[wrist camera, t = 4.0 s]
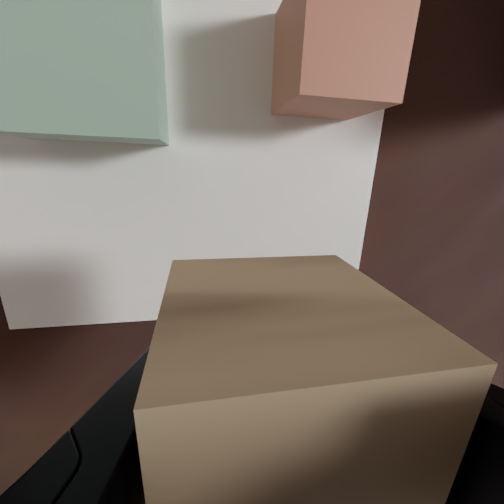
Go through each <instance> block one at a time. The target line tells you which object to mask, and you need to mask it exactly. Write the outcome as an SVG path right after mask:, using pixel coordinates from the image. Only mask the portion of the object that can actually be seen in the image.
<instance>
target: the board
mask: <svg viewBox="0 0 504 504" xmlns="http://www.w3.org/2000/svg"><path fill="white" fill-rule="evenodd" d="M281 2H282V0H161V3H162V22H163V40H164V58H165V77H166V95H167V114H168V132H169V145H151V144H130V143H109V142H88V141H67V140H46V139H31V138H25V137H18V136H12V135H5V134H0V296H1V300H2V304H3V307H4V311H5V315H6V318H7V322H8V326H9V329H25V328H40V327H56V326H71V325H87V324H102V323H117V322H133V321H148V320H157V318H158V314H159V310H160V307H161V303H162V299H163V295H164V291H165V288H166V284H167V280H168V276H169V272H170V268H171V265H172V261H173V260H190V259H223V258H255V257H287V256H320V255H336V256H338V257H339V258H341V259H342V260H344V261H345V262H347V263H348V264H350V265H351V266H353V267H354V268H356V269H357V270H359V264H360V258H361V252H362V245H363V239H364V233H365V227H366V221H367V215H368V209H369V203H370V196H371V190H372V184H373V178H374V172H375V166H376V160H377V154H378V147H379V141H380V135H381V129H382V123H383V117H384V111H385V109H382V110H379V111H376V112H372V113H369V114H366V115H363V116H359V117H356V118H353V119H349V120H339V119H325V118H311V117H297V116H283V115H271V102H272V82H273V61H274V41H275V21H276V12H277V10H278V8H279V6H280V4H281Z"/></svg>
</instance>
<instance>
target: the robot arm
mask: <svg viewBox="0 0 504 504" xmlns="http://www.w3.org/2000/svg"><path fill="white" fill-rule="evenodd" d="M149 349H150V347H149V348H148V349H147V350H146V351H145V352H144V353H143V354H142V355H141V356H140V357H139V358H138V359H137V360H136V361H135V362H134V363H133V364H132V366H131V367H130V368H129V369H128V370H127V371H126V372H125V373H124V374H123V375H122V376H121V377H120V378H119V379H118V380H117V381H116V382H115V383H114V384H113V385H112V386H111V387H110V388H109V389H108V390H107V391H106V392H105V393H104V394H103V395H102V396H101V397H100V398H99V399H98V400H97V401H96V402H95V403H94V404H93V405H92V406H91V407H90V408H89V409H88V410H87V411H86V413H85V414H84V415H83V416H82V417H81V418H80V419H79V420H78V421H77V422H76V423H75V424H74V425H73V426H72V427H71V428H70V431H67V432H66V433H65V434H64V435H63V436H62V437H61V438H60V439H59V440H58V441H57V442H56V443H55V444H54V445H53V446H52V447H51V448H50V449H49V450H48V451H47V452H46V453H45V454H44V455H43V456H42V457H41V458H40V459H39V460H38V461H37V462H36V463H35V464H34V465H33V466H32V467H31V468H30V469H29V470H28V471H27V472H26V473H24V474H23V475H22V476H21V477H20V478H19V479H18V480H17V481H16V482H15V483H14V484H12V485H11V486H10V487H9V488H8V489H7V490H6V491H5V492H4V493H3V494H2V495H0V504H146V503H145V495H144V487H143V480H142V472H141V465H140V457H139V450H138V442H137V434H136V427H135V419H134V412H133V410H134V406H135V402H136V398H137V394H138V391H139V387H140V383H141V379H142V375H143V371H144V368H145V364H146V360H147V356H148V352H149ZM445 504H504V389H503V388H500V387H498V386H496V385H493V384H490V386H489V389H488V392H487V394H486V397H485V400H484V402H483V405H482V407H481V410H480V413H479V415H478V418H477V421H476V423H475V426H474V429H473V431H472V434H471V437H470V439H469V442H468V445H467V447H466V450H465V453H464V455H463V458H462V461H461V463H460V466H459V468H458V471H457V474H456V476H455V479H454V482H453V484H452V487H451V490H450V492H449V495H448V498H447V500H446V503H445Z"/></svg>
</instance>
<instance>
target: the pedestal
mask: <svg viewBox="0 0 504 504" xmlns="http://www.w3.org/2000/svg"><path fill="white" fill-rule="evenodd" d="M0 134H5V135H12V136H18V137H25V138H31V139H46V140H67V141H88V142H109V143H130V144H151V145H169V132H168V114H167V95H166V77H165V58H164V40H163V22H162V3H161V0H0Z"/></svg>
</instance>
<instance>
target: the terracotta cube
mask: <svg viewBox="0 0 504 504" xmlns="http://www.w3.org/2000/svg"><path fill="white" fill-rule="evenodd" d="M420 2H421V0H282V2H281V4H280V6H279V8H278V10H277V12H276V21H275V41H274V61H273V82H272V102H271V115H283V116H297V117H311V118H325V119H339V120H349V119H353V118H356V117H359V116H363V115H366V114H369V113H372V112H376V111H379V110H382V109H386V108H389V107H392V106H396V105H399V104H402V102H403V97H404V91H405V86H406V80H407V75H408V69H409V64H410V58H411V52H412V47H413V41H414V36H415V30H416V25H417V19H418V13H419V8H420Z"/></svg>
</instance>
